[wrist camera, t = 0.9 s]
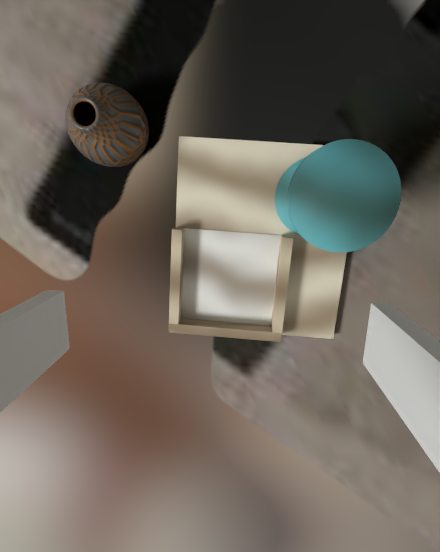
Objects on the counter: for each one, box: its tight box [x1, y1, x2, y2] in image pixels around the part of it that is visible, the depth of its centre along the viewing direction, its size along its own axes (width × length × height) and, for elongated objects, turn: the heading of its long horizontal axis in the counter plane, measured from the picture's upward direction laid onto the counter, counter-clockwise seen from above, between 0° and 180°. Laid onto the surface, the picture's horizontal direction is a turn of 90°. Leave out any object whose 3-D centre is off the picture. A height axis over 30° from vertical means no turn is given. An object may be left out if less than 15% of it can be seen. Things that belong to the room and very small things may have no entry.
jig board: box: [169, 136, 401, 342], centre depth 31 cm, size 20×18×11 cm
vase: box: [66, 83, 149, 167], centre depth 30 cm, size 7×7×9 cm
